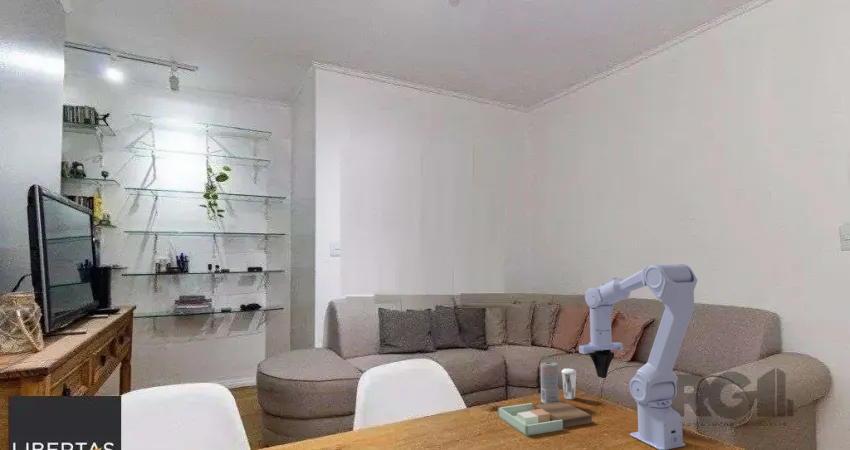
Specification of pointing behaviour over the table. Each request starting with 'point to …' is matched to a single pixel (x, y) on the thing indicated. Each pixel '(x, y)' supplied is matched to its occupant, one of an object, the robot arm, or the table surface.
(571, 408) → the board
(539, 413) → the tile
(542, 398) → the energy drink
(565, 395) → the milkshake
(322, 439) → the table surface
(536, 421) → the tile
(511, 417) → the tray
